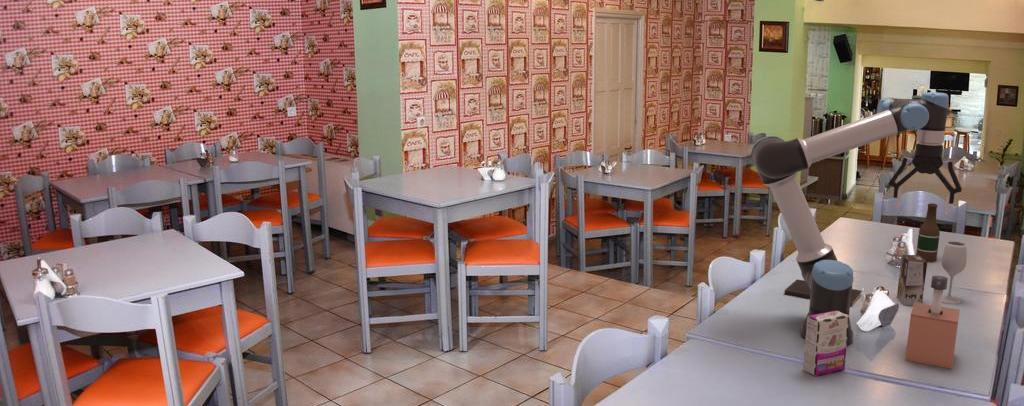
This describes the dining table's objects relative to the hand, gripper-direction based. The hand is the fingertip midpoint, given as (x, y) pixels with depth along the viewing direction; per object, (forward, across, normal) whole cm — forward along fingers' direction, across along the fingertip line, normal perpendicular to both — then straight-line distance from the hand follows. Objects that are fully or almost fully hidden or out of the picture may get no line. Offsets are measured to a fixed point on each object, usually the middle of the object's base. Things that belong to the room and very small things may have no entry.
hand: (921, 211), depth 251 cm
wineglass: (+39, -10, -38) cm, 55 cm away
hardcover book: (+40, +30, -20) cm, 53 cm away
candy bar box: (+39, +17, +49) cm, 65 cm away
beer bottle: (+39, +1, -91) cm, 99 cm away
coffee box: (+39, +2, -29) cm, 49 cm away
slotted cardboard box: (+39, -8, +22) cm, 45 cm away
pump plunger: (+36, -8, +24) cm, 44 cm away
